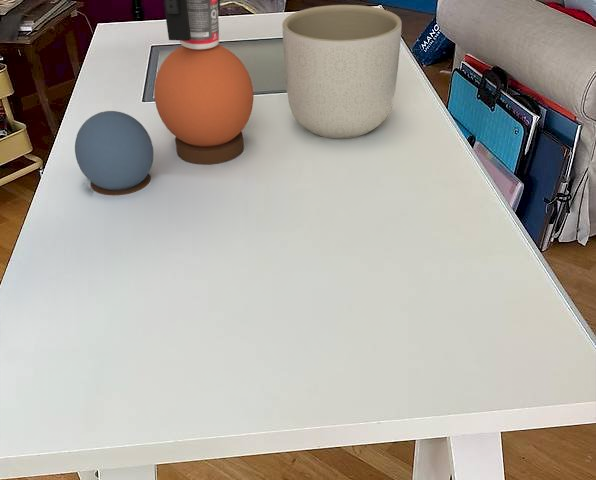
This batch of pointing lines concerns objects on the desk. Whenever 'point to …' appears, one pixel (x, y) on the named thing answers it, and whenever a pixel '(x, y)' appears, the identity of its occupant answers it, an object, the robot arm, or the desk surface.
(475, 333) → the desk surface
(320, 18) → the planter
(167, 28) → the robot arm
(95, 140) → the slate ball
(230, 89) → the terracotta ball
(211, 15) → the pill bottle
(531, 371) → the desk surface
